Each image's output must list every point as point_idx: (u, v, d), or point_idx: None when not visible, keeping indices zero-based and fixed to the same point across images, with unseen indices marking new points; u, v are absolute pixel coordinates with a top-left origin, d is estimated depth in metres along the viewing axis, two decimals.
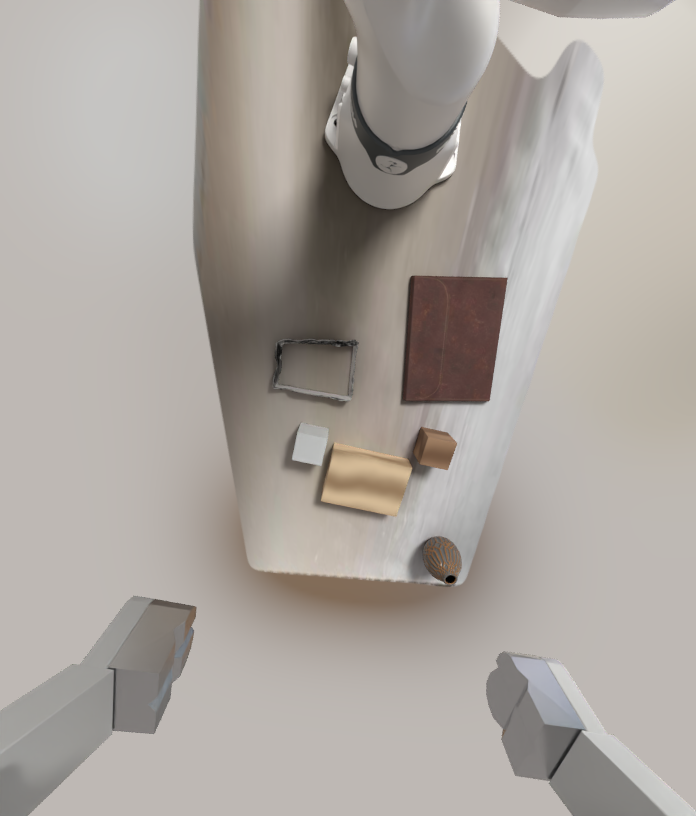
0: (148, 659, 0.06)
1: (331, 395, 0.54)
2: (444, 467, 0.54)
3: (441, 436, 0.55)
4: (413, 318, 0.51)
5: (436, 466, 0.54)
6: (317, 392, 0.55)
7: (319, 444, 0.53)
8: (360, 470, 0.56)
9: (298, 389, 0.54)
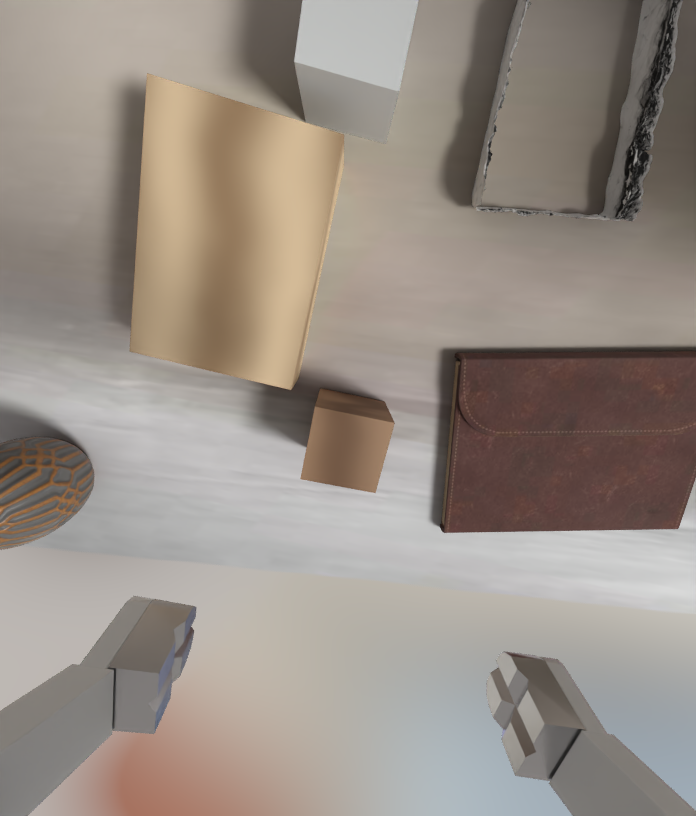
0: (148, 659, 0.06)
1: (487, 146, 0.19)
2: (307, 470, 0.21)
3: None
4: (651, 361, 0.23)
5: (309, 451, 0.20)
6: (496, 99, 0.19)
7: (378, 55, 0.15)
8: (278, 231, 0.18)
9: (513, 27, 0.18)
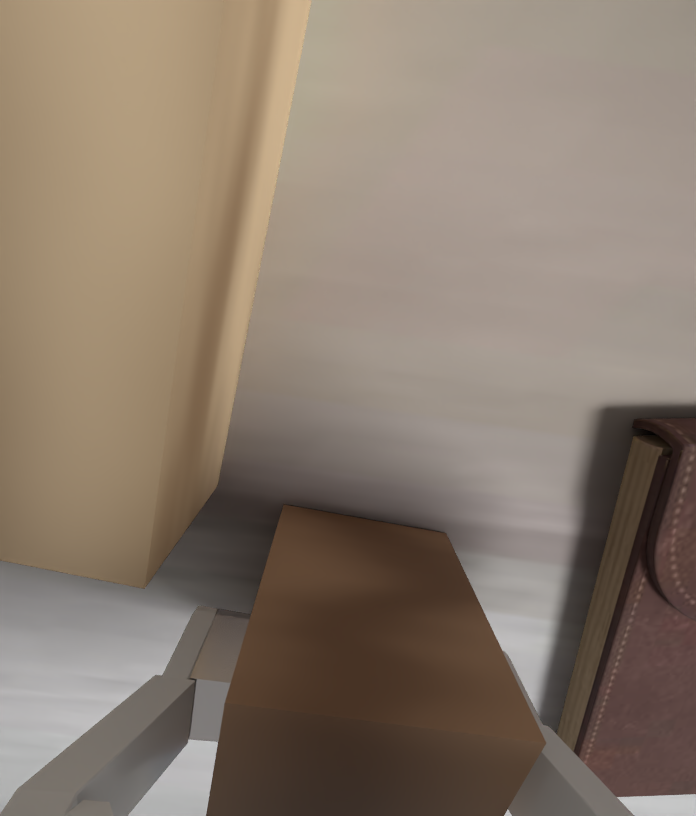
0: (225, 669, 0.06)
1: None
2: None
3: None
4: None
5: None
6: None
7: None
8: None
9: None
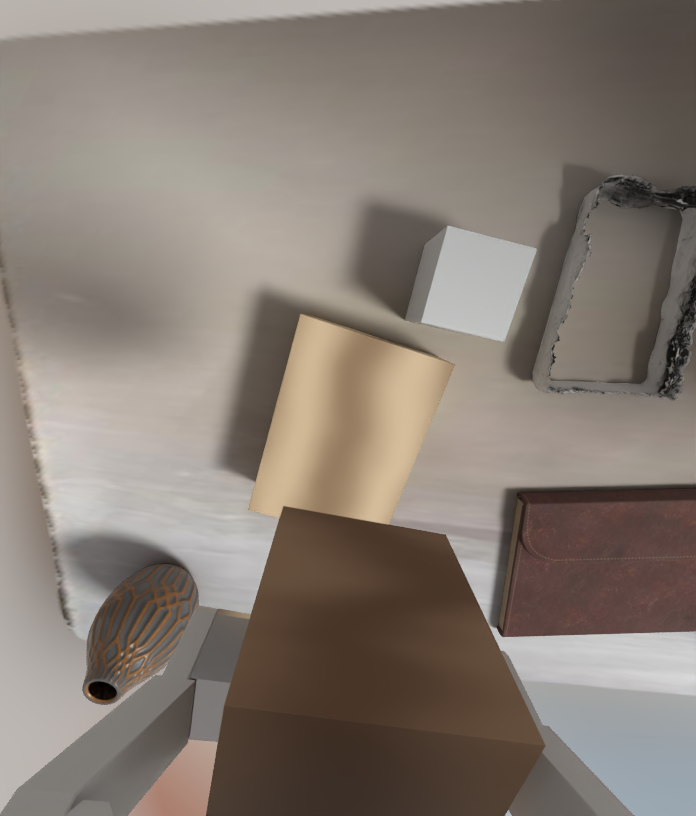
0: (225, 669, 0.06)
1: (548, 342, 0.23)
2: None
3: None
4: (691, 503, 0.26)
5: None
6: (556, 306, 0.22)
7: (490, 317, 0.18)
8: (389, 429, 0.21)
9: (572, 255, 0.21)
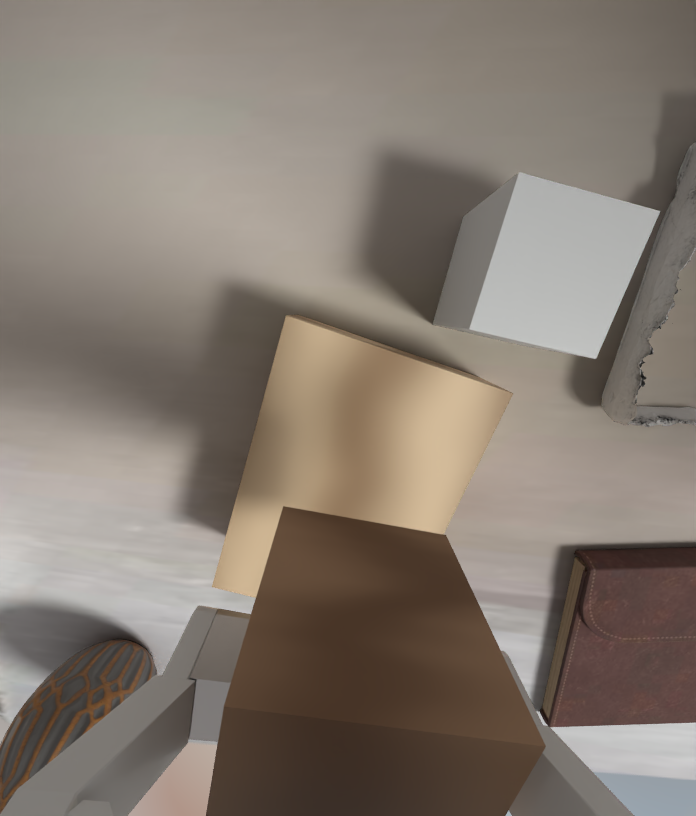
0: (225, 669, 0.06)
1: (630, 355, 0.16)
2: None
3: None
4: None
5: None
6: (644, 305, 0.16)
7: (576, 322, 0.12)
8: (413, 482, 0.15)
9: (673, 230, 0.15)
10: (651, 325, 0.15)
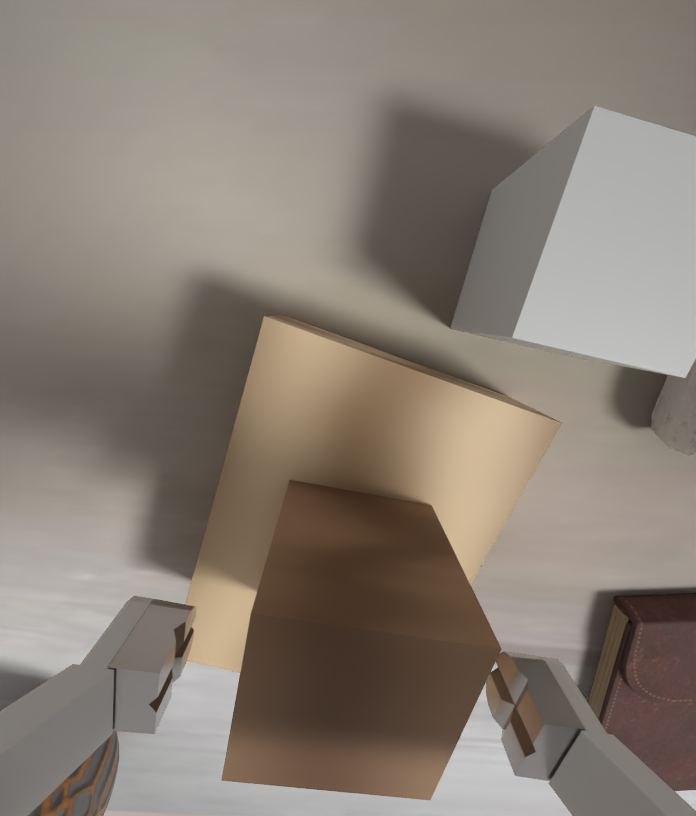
0: (148, 659, 0.06)
1: (694, 366, 0.13)
2: (240, 762, 0.07)
3: None
4: None
5: (242, 721, 0.07)
6: None
7: (663, 327, 0.08)
8: None
9: None
10: None
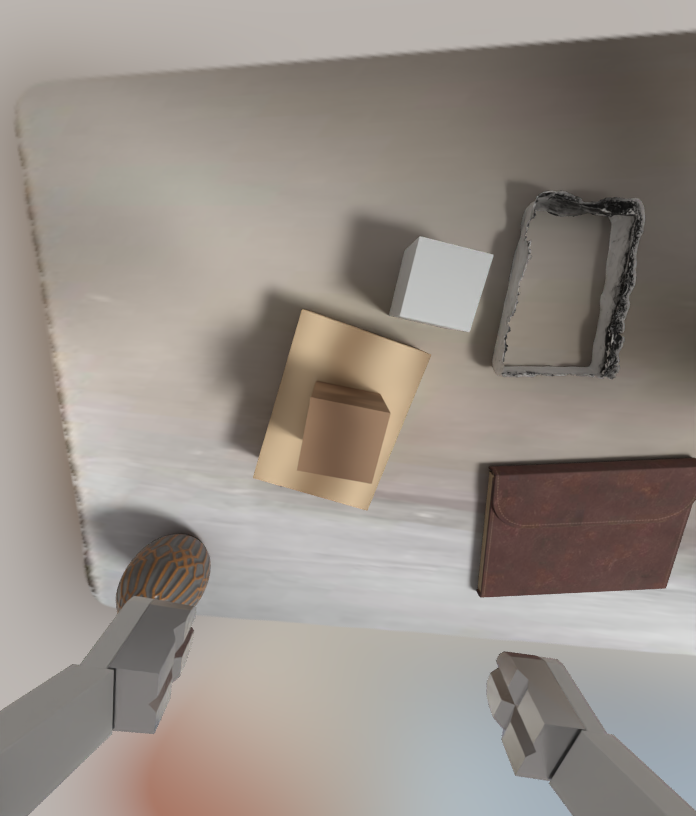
0: (148, 659, 0.06)
1: (502, 333, 0.26)
2: (303, 462, 0.21)
3: None
4: (640, 472, 0.30)
5: (305, 442, 0.20)
6: (508, 302, 0.26)
7: (457, 311, 0.22)
8: None
9: (518, 258, 0.25)
10: (510, 314, 0.25)
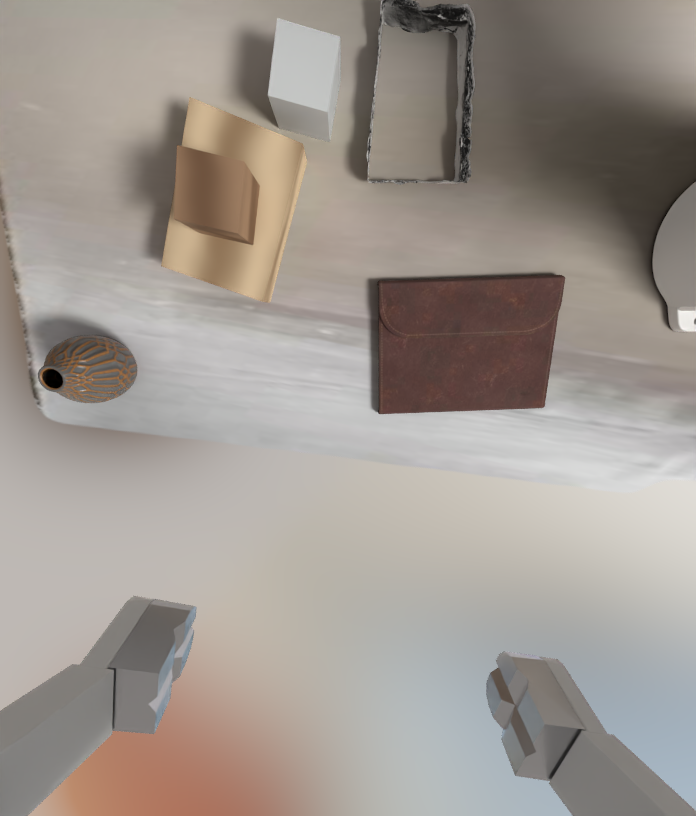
0: (148, 659, 0.06)
1: (370, 141, 0.31)
2: (178, 210, 0.25)
3: (247, 213, 0.27)
4: (506, 282, 0.34)
5: (178, 189, 0.25)
6: None
7: (315, 92, 0.26)
8: (260, 197, 0.30)
9: None
10: (372, 119, 0.30)
